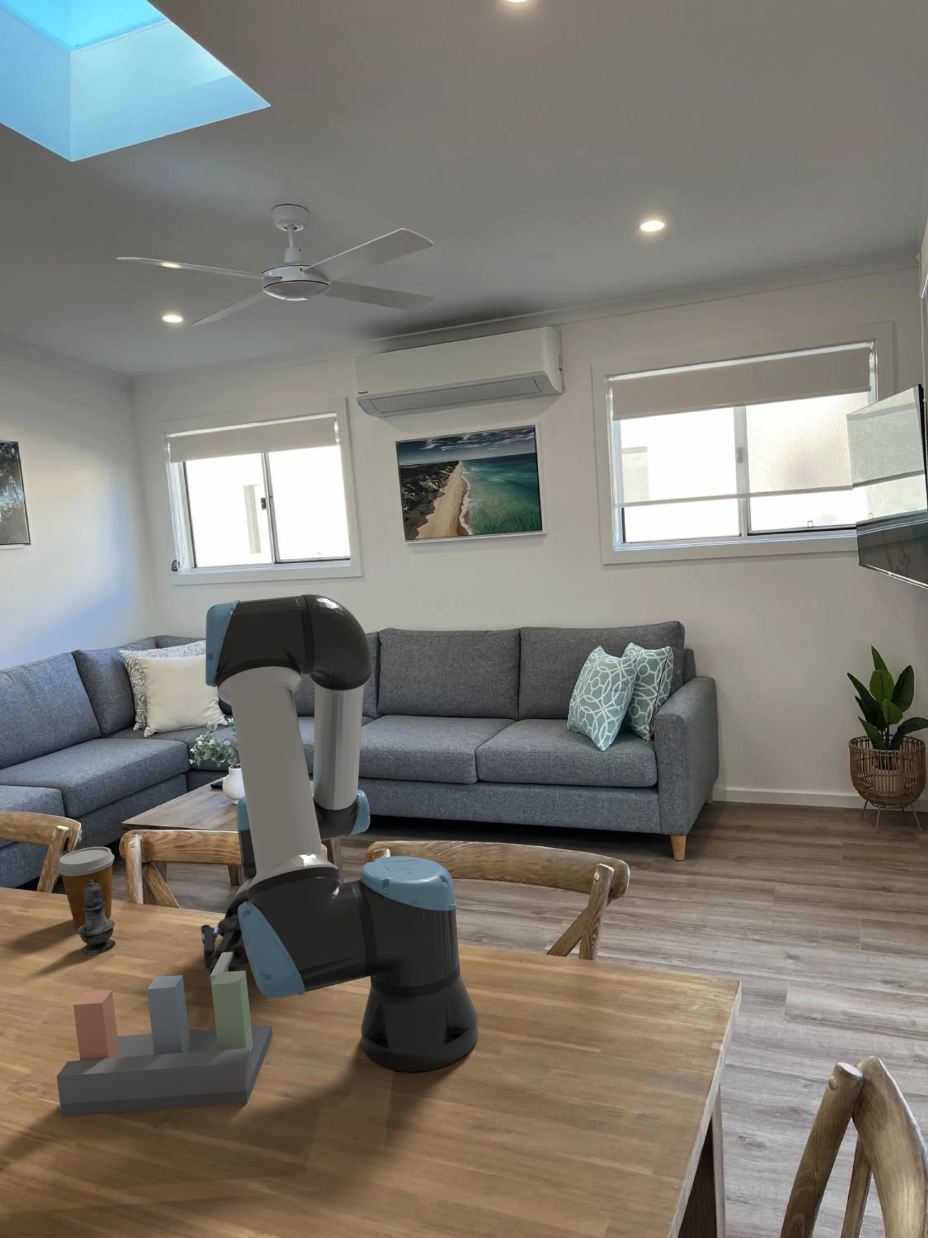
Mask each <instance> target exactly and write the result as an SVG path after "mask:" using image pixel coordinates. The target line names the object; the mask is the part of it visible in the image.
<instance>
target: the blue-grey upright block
mask: <svg viewBox="0 0 928 1238" xmlns="http://www.w3.org/2000/svg"><path fill="white" fill-rule="evenodd" d="M146 994H147V1002H148V1012H149V1018H150V1019H149V1021H150V1028H151V1029H150V1030H151V1034H152V1039H153V1048H154V1055H160V1054H173V1053H187V1052H190V1050H191V1046H190V1037H189V1031H190V1029H189V1022H188V1021H189V1020H188V1012H187V1004H186V994H185V983H184V976H183V974H179V975H167V976H155V977H154V978H153V979H152V981H151V983H150V984H149V986H148V987H147V988H146Z"/></svg>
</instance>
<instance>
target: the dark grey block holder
mask: <svg viewBox="0 0 928 1238" xmlns="http://www.w3.org/2000/svg"><path fill="white" fill-rule="evenodd" d="M251 1029H252V1039H253V1047H252V1049H251V1052H250V1050H249V1048H243V1049H229V1050H218V1042H217V1033H216V1028H212V1029H199V1030H189V1037H190V1046H191V1050H190V1052H187V1053H173V1054H160V1055H154V1048H153V1039H152V1033H145V1034H127V1035H117V1037H118V1045H119V1054H120V1057H118V1058H104V1059H90V1060H80V1059H79V1060H78V1059H77V1060H68V1061H67V1062H66V1063H65V1064H64V1066H63V1067H62V1068H61V1070H59V1073H58V1074H57V1075H56V1081H57V1090H58V1098H59V1106H60V1113H61V1114H60V1115H61V1117H68V1116H82V1115H83V1116H85V1115H97V1114H109V1113H110V1114H111V1113H124V1112H125V1113H126V1112H127V1113H128V1112H137V1111H138V1112H139V1111H152V1110H155V1111H156V1110H166V1109H167V1110H168V1109H179V1108H180V1109H181V1108H195V1107H206V1106H207V1107H209V1106H222V1105H224V1106H225V1105H234V1104H235V1105H236V1104H247V1103H248V1102H249V1100H250V1097H251V1094H252V1092H253V1089H254V1086H255V1084H256V1081H257V1078H258V1075H259V1072H260V1070H261V1068H262V1065H263V1061H264V1060H265V1057H266V1054H267V1051H268V1049H269V1046H270V1043H271V1041H272V1038H273V1037H274V1036H273V1027H272V1024H267V1025H265V1024H264V1025H254V1026H253V1025H251Z"/></svg>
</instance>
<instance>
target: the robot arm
mask: <svg viewBox="0 0 928 1238" xmlns="http://www.w3.org/2000/svg"><path fill="white" fill-rule="evenodd" d="M372 664H373V657H372V650H371V646H370V643H369V639H368V637H367V635H366V632H365V630H364V629H363V626H362V625H361V624H360V622H359V621H358V619H357V618H356V617H355V616H354V614H353V613H351V611H350V610H349V609H347V608H346V607H345V606H344V605H342V604H341V602H338V601H336V600H334V599H332V598H329V597H327V596H325V595H320V594H310V593H309V594H308V593H306V594H301V595H295V596H283V597H271V598H264V599H254V600H252V599H251V600H243V601H241V600H240V599H236V600H235V601H233V602H232V601H231V602H223V603H217V604H214V605H212V606H210V607H209V609H208V610H207V612H206V617H205V685H206V686H207V687H212V688H217V695H218V697H219V699H220V700H221V701H222V702H224V703H225V704H227V705H229V706H231V711H232V713H231V714H232V719H233V725H234V731H235V732H234V733H235V739H236V744H237V745H236V746H237V753H238V758H239V764H240V770H241V777H242V784H243V792H244V795H245V796H243V797H241V798H240V799H239V800H238V801H237V803H236V829H237V834H238V835H237V836H238V843H239V844H238V845H239V853H240V865H241V874H242V875H241V876H242V883H241V886H239V889H238V890H237V892H236V894H235V895H234V897H233V899H232V901H231V903H230V904H229V905H228V908H227V910H226V912H225V916H224V918H223V919H221V920H220V921H219V922H218V923H217V926H214V925H213V926H212V925H211V926H210V925H209V924H203V925H201V926H200V932H201V940H202V941H201V942H202V944H203V957H204V967H205V969H206V970H209V974H210V975H209V977H210V987H211V989H212V986H211V984H212V983H213V981H214V979H215V977H216V975H217V974H218V973H219V972H233V971H242V968H244V967H245V965H246V964H248V965H249V966H250V967H249V968H250V970H251V973H252V975H253V978H254V981H255V984H256V986H257V988H258V989H259V991H260V992H261V994H263V996H265V997H266V998H268V999H269V998H270V999H279V998H284V997H290V996H295V995H298V996H303V995H305V993H307V992H312V991H316V990H319V989H324V988H327V987H328V988H329V987H333V986H336V985H340V984H344V983H349V982H352V981H357V980H361V979H364V978H369V977H370V988H369V993H368V997H367V1002H366V1006H365V1010H364V1014H363V1019H362V1022H361V1027H360V1028H361V1029H360V1031H361V1042H362V1043H361V1044H362V1049H363V1052H364V1054H365V1056H366V1057H367V1058H368V1059H369V1061H371V1062H372V1063H374V1064H375V1065H377V1066H380V1067H382V1068H385V1069H388V1070H392V1071H397V1072H425V1071H430V1070H435V1069H440V1068H441V1067H445V1066H448V1065H450V1064H452V1063H454V1062H456V1061H458V1060H460V1059H461V1058H463V1057H464V1056H466V1055H467V1054H468V1053H469V1052H470V1051H471V1050H472V1049H473V1048H474V1047H475V1045H476V1043H477V1041H478V1038H479V1023H478V1016H477V1012H476V1008H475V1005H474V1004H473V1001H472V999H471V997H470V993H468V989H467V987H466V985H465V983H464V980H463V978H462V976H461V967H460V964H461V963H460V953H459V939H458V926H457V911H456V907H457V905H458V904H457V899H456V896H455V891H454V884H453V879H452V876H451V874H450V872H449V871H448V870H447V868H445V867H444V866H443V865H441V864H439V863H438V862H436V861H434V860H430V859H426V858H422V857H416V856H406V855H405V856H404V855H400V856H399V855H396V856H394V855H393V856H384V857H378V858H375V859H373V860H371V861H369V862H367V863H365V864H363V866H362V867H361V871H360V872H359V879H356V880H353V881H346V882H342V880H341V876H340V870H339V867H338V865H335V864H333V863H332V862H330V861H329V860H327V859H326V858H325V855H324V851H323V846H322V841H327V840H333V839H339V838H347V837H350V836H353V835H357V834H360V833H364V832H366V830H368V828H369V827H370V824H371V815H370V805H369V801H368V798H367V797H368V796H367V794H366V793H365V792H364V791H363V790H362V789H358V788H359V787H358V785H359V774H360V770H359V769H360V759H361V758H360V756H361V755H360V754H361V739H362V738H361V737H362V724H363V723H362V722H363V707H364V694H365V693H364V691H365V689H364V688H365V686H366V685H367V683H368V682H369V681H370V679H371V678H372ZM303 675H308V677H309V678H310V679H309V680H311V682H312V683H313V684H314V721H313V722H314V723H313V725H314V726H313V727H314V728H313V729H314V730H313V731H314V732H313V768H312V771H313V778H312V779H313V780H312V786H313V787H312V786H311V781H310V777H309V771H308V766H307V765H308V764H307V761H306V754H305V750H304V744H303V739H302V734H301V729H300V723H299V718H298V712H297V708H296V702H295V697H294V694H295V693H296V692H297V691H298V690H299V688H301V686H302V683H303V682H302V681H303V680H302V679H303V678H302V676H303ZM311 787H312V788H311ZM218 936H220V937H222V939H221V940H220V943H219V944H218V947H217V948H215V947H216V946H215V943H216V942H217V938H219V937H218ZM215 949H216V950H215Z"/></svg>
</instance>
